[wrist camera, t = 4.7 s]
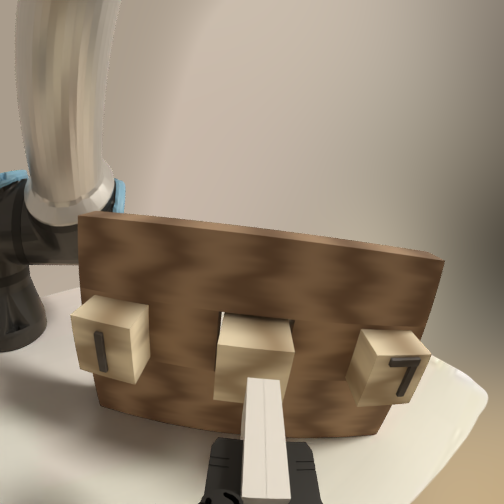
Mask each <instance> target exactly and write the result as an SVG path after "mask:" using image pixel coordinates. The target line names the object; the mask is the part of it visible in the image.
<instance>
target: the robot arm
mask: <svg viewBox="0 0 504 504" xmlns="http://www.w3.org/2000/svg"><path fill="white" fill-rule="evenodd" d="M120 3H121V0H18V2H17V14H16V28H15V71H16V88H17V99H18V108H19V115H20V116H19V117H20V123H21V130H22V136H23V142H24V148H25V153H26V158H27V163H28V167H29V172H30V176H29V178H28V175H27V171H26V170H16V171H10V172H4V173H0V352H3V351H10V350H15V349H18V348H21V347H24V346H26V345H28V344H30V343H32V342H33V341H35V340H36V339H37V338H38V337H40V336H41V334H42V333H43V332H44V330H45V328H46V326H47V319H46V314H45V309H44V306H43V304H42V302H41V299H40V297H39V295H38V293H37V291H36V289H35V286H34V284H33V282H32V279H31V277H30V271H29V265H79V261H78V215H82V214H85V213H89V212H93V211H104V212H115V213H124V204H125V184H124V182H123V181H120V180H118V179H115V178H114V175H113V171H112V169H111V167H110V166H109V164H108V163H107V162H106V161H105V160H104V159H102V140H103V119H104V105H105V93H106V84H107V75H108V68H109V61H110V54H111V48H112V42H113V36H114V31H115V26H116V21H117V16H118V11H119V7H120ZM198 504H323V503H322V501H321V498H320V493H319V487H318V481H317V475H316V471H315V464H314V458H313V453H312V450H311V449H310V447H309V446H308V445H307V443H306V442H286V440H285V429H284V419H283V409H282V399H281V390H280V380H271V379H259V378H249V377H248V378H247V385H246V392H245V399H244V405H243V412H242V422H241V438H240V440H238V439H228V438H220V437H218V439H217V440H216V441H215V442H214V444H213V445H212V448H211V454H210V460H209V467H208V473H207V479H206V486H205V492H204V496H203V497H202V499H201V502H200V503H198Z"/></svg>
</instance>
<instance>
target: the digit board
mask: <svg viewBox="0 0 504 504" xmlns="http://www.w3.org/2000/svg"><path fill="white" fill-rule="evenodd" d="M78 261H79V278H80V291H81V301H82V306H80V307H79V308H78V309H77V310H75V311H74V312H73V313H72V314H71V315H70V316H71V323H72V329H73V335H74V341H75V346H76V351H77V356H78V361H79V366H80V369H82V370H85V371H88V372H91V373H93V377H94V382H95V386H96V390H97V394H98V398H99V402H100V406H103V407H107V408H110V409H113V410H117V411H120V412H124V413H127V414H131V415H135V416H139V417H142V418H147V419H151V420H155V421H160V422H164V423H169V424H174V425H179V426H184V427H190V428H196V429H202V430H209V431H216V432H224V433H232V434H241V422H242V412H243V405H244V403H237V402H229V401H221V400H213V397H214V383H215V369H216V356H217V344H218V340H219V335H220V325H221V314H222V312H229V313H237V314H245V315H254V316H263V317H272V318H282V319H288V321H289V326H290V331H291V335H292V340H293V345H294V350H295V354H294V358H293V363H292V367H291V371H290V375H289V379H288V383H287V387H286V391H285V395H284V399H283V403H282V409H283V419H284V429H285V437H292V438H324V437H348V436H362V435H373V434H377V432H378V430H379V428H380V427H381V425H382V423H383V421H384V419H385V417H386V415H387V414H388V412H389V410H390V408H391V406H392V405H394V404H404V403H409V402H410V400H411V398H412V396H413V394H414V392H415V390H416V388H417V386H418V384H419V382H420V380H421V377H422V375H423V373H424V371H425V369H426V366H427V364H428V362H429V360H430V357H431V355H432V354H431V353H430V352H429V351H428V349H427V348H426V347H425V346H424V345H423V344H422V343H421V341H420V340H421V337H422V334H423V332H424V329H425V326H426V323H427V320H428V317H429V314H430V311H431V308H432V305H433V302H434V299H435V295H436V292H437V289H438V285H439V282H440V278H441V274H442V270H443V266H444V262H445V261H444V260H442V259H440V258H438V257H436V256H434V255H433V254H430V253H428V252H424V251H418V250H412V249H406V248H399V247H392V246H386V245H379V244H372V243H365V242H359V241H352V240H345V239H338V238H331V237H324V236H316V235H309V234H301V233H294V232H286V231H279V230H270V229H262V228H255V227H246V226H238V225H230V224H221V223H212V222H203V221H194V220H185V219H176V218H166V217H156V216H146V215H136V214H124V213H115V212H104V211H93V212H89V213H85V214H82V215H78Z"/></svg>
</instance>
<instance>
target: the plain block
mask: <svg viewBox="0 0 504 504" xmlns="http://www.w3.org/2000/svg"><path fill="white" fill-rule="evenodd" d="M294 354H295V350H294V345H293V340H292V335H291V331H290V326H289V321H288V319H282V318H272V317H263V316H254V315H245V314H237V313H229V312H225V314H224V318H223V322H222V327H221V331H220V335H219V340H218V344H217V356H216V369H215V383H214V397H213V400H221V401H229V402H237V403H244V399H245V392H246V385H247V378H248V377H249V378H259V379H271V380H280V390H281V399H282V403H283V399H284V395H285V391H286V387H287V383H288V379H289V375H290V371H291V367H292V363H293V358H294Z"/></svg>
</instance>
